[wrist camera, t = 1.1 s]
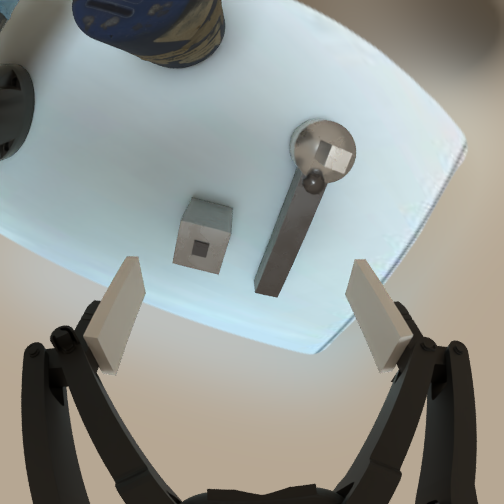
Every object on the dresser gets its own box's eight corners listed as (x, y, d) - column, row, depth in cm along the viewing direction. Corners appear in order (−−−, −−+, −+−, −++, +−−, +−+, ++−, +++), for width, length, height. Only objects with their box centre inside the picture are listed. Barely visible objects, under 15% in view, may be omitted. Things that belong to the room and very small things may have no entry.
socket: (183, 234, 36) (172, 264, 29) (191, 197, 33) (180, 221, 27) (221, 243, 37) (218, 275, 30) (232, 208, 34) (231, 234, 28)
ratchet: (241, 277, 39) (241, 311, 33) (301, 110, 28) (317, 112, 22) (287, 288, 41) (295, 322, 34) (354, 132, 30) (381, 141, 23)
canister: (180, 85, 26) (112, 69, 11) (128, 40, 23) (35, 5, 7) (244, 31, 23) (249, -43, 8) (188, -13, 20) (145, -94, 4)
